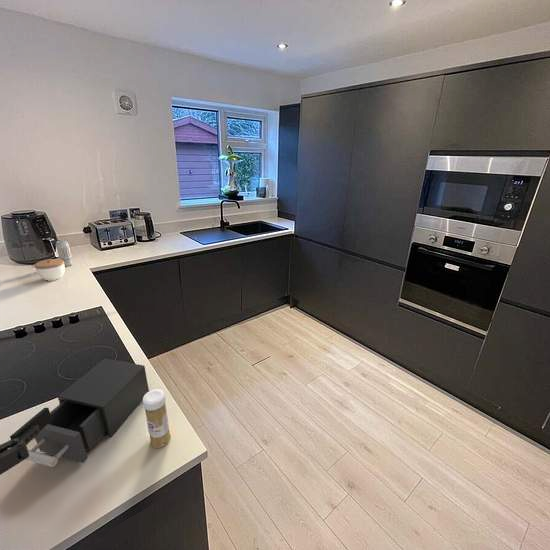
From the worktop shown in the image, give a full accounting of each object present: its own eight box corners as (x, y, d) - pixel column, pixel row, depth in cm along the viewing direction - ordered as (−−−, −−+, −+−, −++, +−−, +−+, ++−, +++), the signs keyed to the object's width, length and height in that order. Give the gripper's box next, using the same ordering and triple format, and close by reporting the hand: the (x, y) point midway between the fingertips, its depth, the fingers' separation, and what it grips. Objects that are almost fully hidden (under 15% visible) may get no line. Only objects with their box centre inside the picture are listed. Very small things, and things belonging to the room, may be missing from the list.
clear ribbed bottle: (64, 267, 171) (58, 243, 166) (59, 265, 174) (53, 241, 168) (75, 264, 176) (69, 241, 170) (70, 262, 179) (64, 239, 173)
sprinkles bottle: (146, 447, 66) (138, 403, 61) (156, 430, 70) (148, 387, 65) (166, 449, 66) (158, 405, 61) (174, 432, 70) (168, 389, 65)
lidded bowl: (38, 285, 147) (32, 264, 143) (39, 277, 157) (33, 258, 153) (68, 279, 154) (63, 260, 150) (67, 272, 164) (62, 254, 160)
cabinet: (111, 437, 68) (103, 407, 65) (67, 426, 71) (57, 396, 67) (149, 393, 81) (144, 365, 78) (111, 385, 84) (104, 358, 80)
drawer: (65, 483, 57) (55, 456, 55) (20, 470, 60) (8, 443, 57) (126, 413, 74) (121, 389, 71) (89, 404, 76) (82, 381, 73)
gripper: (-240, 565, 35) (-40, 428, 55) (-55, 580, 32) (82, 431, 53) (-274, 519, 33) (-54, 394, 53) (-80, 531, 30) (72, 396, 51)
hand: (14, 412), depth 53 cm, fingers open, 13 cm apart
